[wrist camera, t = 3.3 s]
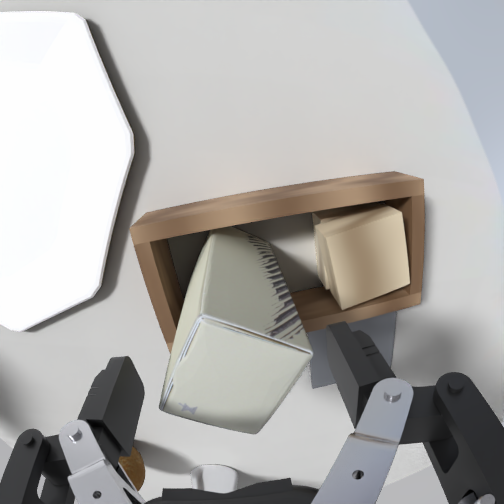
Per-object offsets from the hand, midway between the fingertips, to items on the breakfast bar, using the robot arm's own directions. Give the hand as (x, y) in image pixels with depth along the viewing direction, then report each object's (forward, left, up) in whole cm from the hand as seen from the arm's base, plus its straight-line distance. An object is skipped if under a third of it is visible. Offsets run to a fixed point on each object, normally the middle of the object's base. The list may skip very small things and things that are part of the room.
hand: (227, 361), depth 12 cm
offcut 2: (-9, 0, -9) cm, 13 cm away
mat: (-9, +10, -11) cm, 18 cm away
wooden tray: (-4, 0, -11) cm, 12 cm away
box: (0, 0, -11) cm, 11 cm away
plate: (+19, -11, -12) cm, 25 cm away
